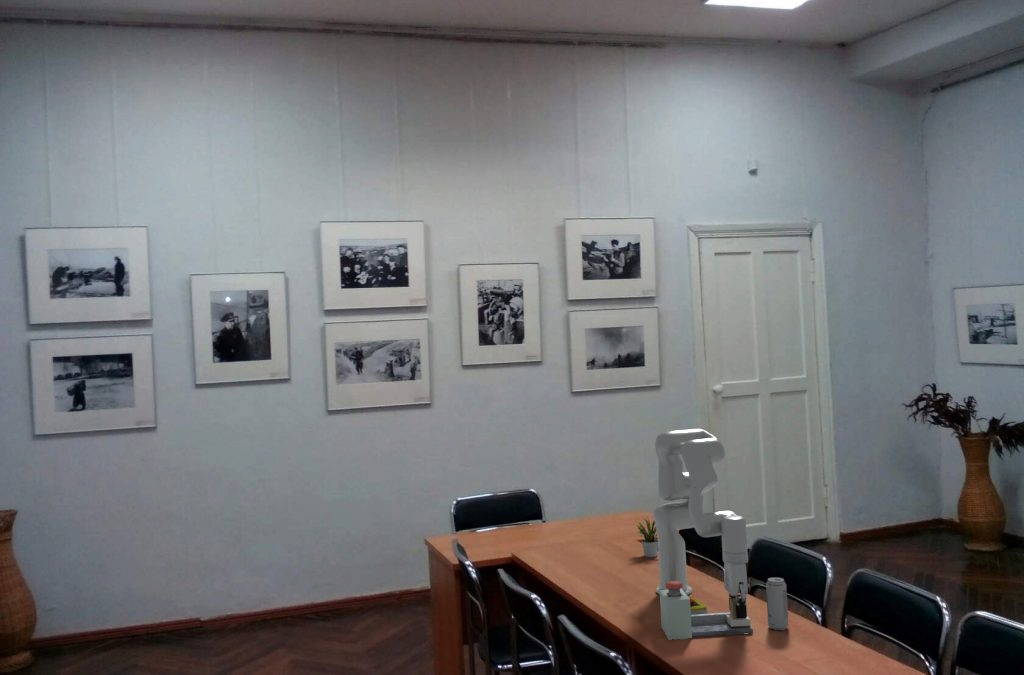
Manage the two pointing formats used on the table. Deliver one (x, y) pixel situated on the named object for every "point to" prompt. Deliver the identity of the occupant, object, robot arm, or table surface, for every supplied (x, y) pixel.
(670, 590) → the button
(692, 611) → the emergency button
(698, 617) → the track
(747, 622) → the carriage
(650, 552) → the house plant
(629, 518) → the table surface
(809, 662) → the table surface
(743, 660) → the table surface
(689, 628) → the cabinet
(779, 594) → the energy drink can
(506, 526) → the table surface
